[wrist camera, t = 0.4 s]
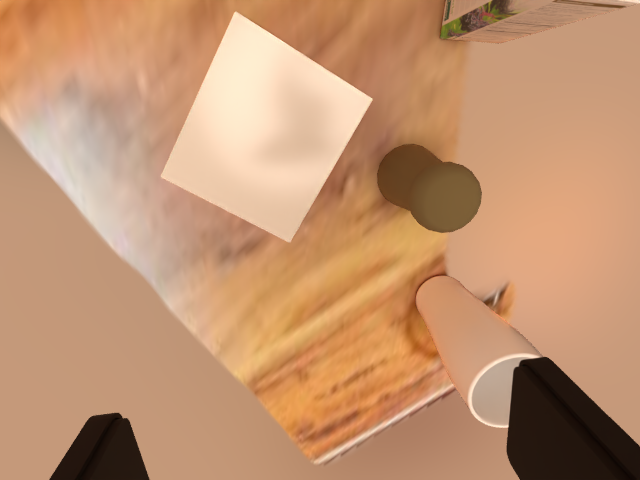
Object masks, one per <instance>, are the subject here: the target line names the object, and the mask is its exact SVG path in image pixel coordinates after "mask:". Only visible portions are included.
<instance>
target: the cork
mask: <svg viewBox="0 0 640 480" xmlns="http://www.w3.org/2000/svg"><path fill="white" fill-rule="evenodd" d="M378 186H379V189H380V192H381V193H382V194H383V196H384V197H385V198H386V199H387V200H388V201H390V202H391V203H393V204H395V205H397V206H400V207H402V208H405V209H407V210H410V211H411V214H412V215H413V217H414V218H415V219H416V221H417V222H418V223H419V224H420V225H422V226H423V227H425V228H426V229H428V230H432V231H436V232H440V233H444V232H453V231H455V230H458V229H460V228H462V227H464V226H465V225H466V224H467V223H469V222H470V221H471V220H472V219H473V217H474V216H475V215H476V213H477V211H478V209H479V206H480V204H481V195H482V192H481V188H480V184H479V181H478V180H477V179H476V177H475V176H474V174H473V173H472V172H471V171H470V170H469V169H467V168H466V167H464V166H463V165H459V164H456V163H452V162H442V161H440V160H439V159H438V158H437V157H436V156H435V155H433V154H432V153H431V152H430V151H428V150H427V149H426V148H424V147H422V146H419V145H415V144H408V145H402V146H399V147H397V148H394V149H393V150H392V151H391V152H389V153H388V154H387V155H386V156H385V158H384V159H383V161H382V162H381V164H380V167H379V170H378Z"/></svg>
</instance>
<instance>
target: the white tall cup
mask: <svg viewBox="0 0 640 480" xmlns="http://www.w3.org/2000/svg"><path fill="white" fill-rule="evenodd" d="M416 306H417V309H418V311H419V313H420V314H421V316H422V318H423V320H424V322H425V324H426V326H427V328H428V331H429V333H430V335H431V337H432V340H433V342H434V344H435V346H436V349H437V351H438V353H439V356H440V358H441V360H442V362H443V365H444V367H445V369H446V371H447V373H448V375H449V377H450V379H451V381H452V383H453V385H454V386H455V388H456V390H457V391H458V393H459V395H460V396H461V398H462V399H463V401H464V402H465V404H466V405H467V407H468V408H469V410H470V411H471V413H472V414H473V416H474V417H475V418H476V419H477V420H479V421H480V422H482V423H484V424H486V425H489V426H492V427H498V428H506V427H508V426H509V414H510V403H511V391H512V380H513V371H514V368H515V367H519V363H520V361H521V360H524V359H532V358H539V357H543V356H542V355H541V354H540V352H539V351H538V350H537V349H536V348H535V347H534V346H533V345H532V344H531V343H530V342H529V341H528V340H527V339H526V338H525V337H524V336H523V335H522V334H521V333H520V332H519V331H517V330H516V329H515V328H514V327H513V326H512V325H511V324H509V323H508V322H507V321H506V320H504V319H503V318H502V317H501V316H499V315H498V314H497V313H496V312H494V311H493V310H492V309H490V308H489V307H488V306H487V305H485V304H484V303H483V302H482V301H480V300H479V299H478V298H477V297H475V296H474V295H473V294H472V293H471V292H469V291H468V290H467V289H466V288H465V287H464V286H463V285H462V284H461V283H460V282H459V281H457V280H456V279H454V278H452V277H449V276H436V277H433V278H430V279H429V280H427V281H426V282H424V283H423V284H422V285H421V287H420V288H419V290H418V292H417V295H416Z"/></svg>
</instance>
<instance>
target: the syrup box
mask: <svg viewBox="0 0 640 480" xmlns="http://www.w3.org/2000/svg"><path fill="white" fill-rule="evenodd" d="M637 3H640V0H446V2H445V8H444V15H443V21H442V29H441V35H440V38H441V39H450V40H465V41H478V42H489V43H503V42H507V41H510V40H514V39H517V38H521V37H524V36H528V35H531V34H534V33H538V32H542V31H545V30H548V29H552V28H556V27H559V26H562V25H566V24H569V23H573V22H576V21H579V20H583V19H586V18H590V17H594V16H597V15H601V14H604V13H608V12H611V11H615V10H619V9H622V8H626V7H629V6H632V5H636V4H637Z"/></svg>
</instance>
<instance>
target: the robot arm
mask: <svg viewBox="0 0 640 480" xmlns="http://www.w3.org/2000/svg"><path fill="white" fill-rule="evenodd" d="M507 455H508V458H509V461H510V464H511V465H512V467H513V469H514V470H515V472H516V474H517V475H518V477H519V479H520V480H640V446H639V445H638V444H637V443H636V442H635V441H634V440H633V439H632V438H631V437H630V436H629V435H628V434H627V433H626V432H625V431H624V430H623V429H621V427H620V426H619V425H617V424H616V423H615V422H614V421H613V420H612V419H611V418H610V417H609V416H608V415H607V414H606V413H605V412H604V411H603V410H602V409H601V408H600V407H599V406H598V405H597V404H596V403H595V402H594V401H593V400H592V399H591V398H589V397H588V396H587V395H586V394H585V393H584V392H583V391H582V390H581V389H580V388H579V387H578V386H577V385H576V384H575V383H574V382H573V381H572V380H571V379H570V378H569V377H568V376H567V375H566V374H565V373H564V372H563V371H562V370H561V369H560V368H559V367H558V366H557V365H556V364H555V363H554V362H553V361H552V360H550V359H549V358H547V357H539V358H532V359H524V360H521V361H520V363H519V367H515V368H514V371H513V380H512V391H511V403H510V414H509V426H508V437H507ZM50 480H149V477H148V474H147V471H146V468H145V465H144V462H143V460H142V456H141V453H140V451H139V448H138V445H137V442H136V439H135V436H134V433H133V430H132V427H131V425H130V422H129V420H128V419H127V418H124V419H123V418H122V416H121V415H120V414H119V413H111V414H103V415H96V416H92V417H90V418H89V419H88V421H87V422H86V423H85V425H84V427H83V428H82V430H81V431H80V433H79V434H78V436H77V438H76V439H75V440H74V442H73V444H72V445H71V447H70V448H69V450H68V451H67V453H66V454H65V456H64V458H63V459H62V461H61V462H60V464H59V465H58V467H57V468H56V470H55V472H54V473H53V475H52V476H51V478H50Z"/></svg>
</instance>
